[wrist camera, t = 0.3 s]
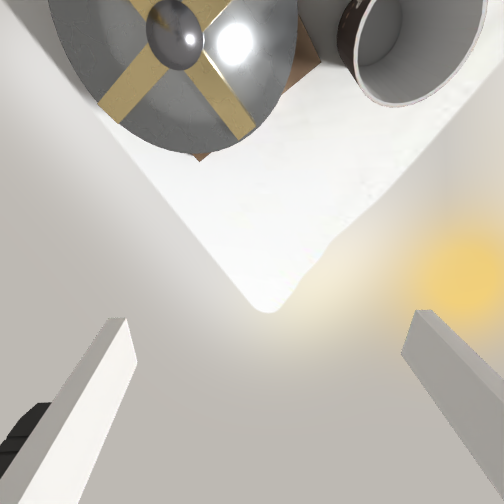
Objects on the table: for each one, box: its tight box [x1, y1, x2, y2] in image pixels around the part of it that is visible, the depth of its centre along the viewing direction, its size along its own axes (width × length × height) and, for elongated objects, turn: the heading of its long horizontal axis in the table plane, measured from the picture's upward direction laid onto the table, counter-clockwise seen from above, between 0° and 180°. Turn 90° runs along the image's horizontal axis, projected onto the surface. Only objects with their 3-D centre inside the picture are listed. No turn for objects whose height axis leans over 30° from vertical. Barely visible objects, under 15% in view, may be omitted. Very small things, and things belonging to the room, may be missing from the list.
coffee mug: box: [337, 0, 488, 107], centre depth 22 cm, size 12×9×10 cm
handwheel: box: [48, 0, 298, 154], centre depth 17 cm, size 18×18×12 cm
